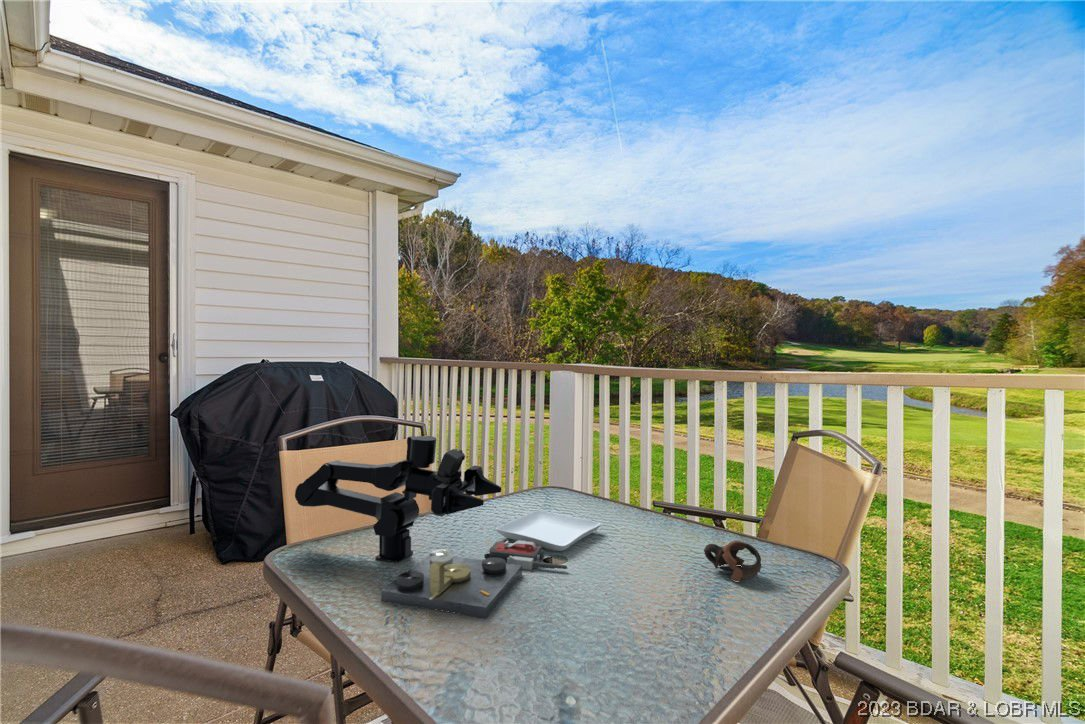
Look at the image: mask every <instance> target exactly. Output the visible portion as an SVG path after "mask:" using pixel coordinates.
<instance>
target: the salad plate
mask: <svg viewBox="0 0 1085 724" xmlns="http://www.w3.org/2000/svg"><path fill="white" fill-rule="evenodd" d="M601 525H602V523H601V522H598V521H593V520H589V519H585V518H580V517H575V516H571V515H566V514H562V513H557V512H552V511H551V512H550V511H546V510H542V509H541V510H540V509H539V510H534V511H532V512H529V513H527V514H525V515H522V516H520V517H517V518H514V519H513V520H510V521H507V522H506V523H504V524H501V525H500V526H497V527H495V531H496V532H497V533H498V534H499V535H501V537H504V538H508V539H511V540H512V541H514V542H516V541H518V540H521V541H526V542H527V541H531V542H534V543H535V544H536V546H541V547H542V549H544V550H545V549H546V550H551V551H555V552H563V551H565V550H568V548H569V547H571V546H572V545H574V544H575V543H577V542H579V541H580V540H583V539H584V538H585V537H587V536H589V535H592V534H593V533H594V532H596V531H597V530H598V529H599V528H601Z"/></svg>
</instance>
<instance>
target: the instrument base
mask: <svg viewBox="0 0 1085 724" xmlns="http://www.w3.org/2000/svg"><path fill="white" fill-rule="evenodd" d="M435 561H436V562H443V563H444V566H446V565H448V564H453V563H463V564H467V565H469V566H470V568H471V576H470V578H469V579H467V580H465V581H462V582H456V583H452V584H451V585H450V586H449V587H448V588H446V589H445V590H444V591H443V592H442V593H441V594H440V595H439V596H435V595H431V588H430V565H431V564H432V563H434V562H435ZM522 575H523V569H522V565H516V564H509V563H506V560H504V559H502V558H497V557H492V558H487V559H485V558H484V559H479V558H477V559H476V558H470V557H464V556H463V557H462V556H455V555H454V552H453V550H452V549H447V548H441V549H439V548H438V549H434V550H432V551H430V553H429V554H428V556H426V557H425V558H423V559H422V560H421V561H420V562H418V563H416V565H414V566H412V567H411V568H410V569H409V570H407V571H406V572H405V571H404V572H402V573H400V574H398V575H397V576H396V579H395V580H393V581H392V582H391V583H390V584H388V585H387V586H385V587H384V588H382V589H381V591H380V592H381V593H380V600H381V602H387V603H394V604H400V605H405V606H411V607H415V606H417V607H416V608H421V607H423V609H427V608H428V610H433V609H437V610H436V611H439V610H443V611H442V612H445V611H449V612H448V613H451V612H455V613H454V614H456V613H460V614H459V615H462V614H464V615H463V616H468V615H469V616H470V617H474V618H480V619H487V618H488V617H489V615H490V614H491V613H492V611H494V609H495V608H496V607H497V606H498V604H499V603H500V600H501V601H502V600H503V598H504V597H505V596H506V595H505V594H508V592H509V591H510V589H511V588H512V587H513V586H514V585H515V584H516V583H517V581H518V580H519V579H520V577H521V576H522ZM504 595H505V596H504ZM469 616H468V617H469Z"/></svg>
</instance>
